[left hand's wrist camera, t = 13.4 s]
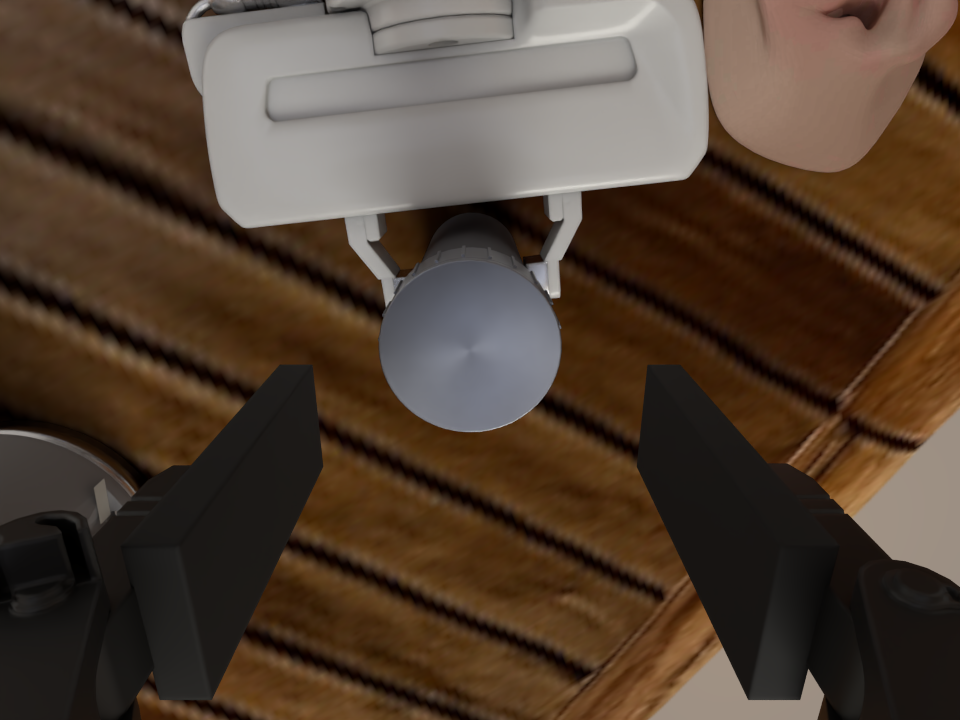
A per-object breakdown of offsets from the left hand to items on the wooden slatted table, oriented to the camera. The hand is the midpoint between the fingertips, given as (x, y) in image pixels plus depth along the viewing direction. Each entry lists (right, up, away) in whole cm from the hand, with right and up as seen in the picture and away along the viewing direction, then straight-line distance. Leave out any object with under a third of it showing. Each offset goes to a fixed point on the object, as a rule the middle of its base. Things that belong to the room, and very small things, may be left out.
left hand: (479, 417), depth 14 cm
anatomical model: (+16, +18, +15) cm, 29 cm away
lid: (0, +2, +5) cm, 5 cm away
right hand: (0, +4, +13) cm, 14 cm away
